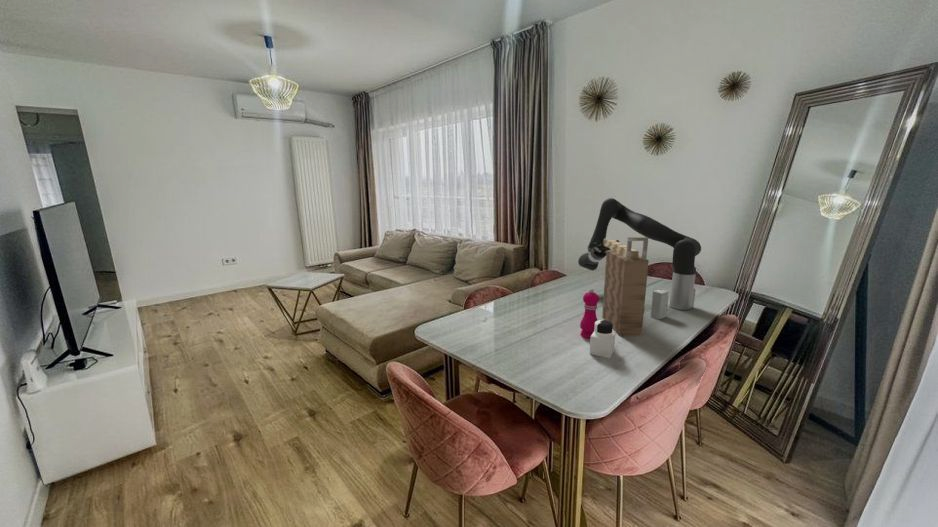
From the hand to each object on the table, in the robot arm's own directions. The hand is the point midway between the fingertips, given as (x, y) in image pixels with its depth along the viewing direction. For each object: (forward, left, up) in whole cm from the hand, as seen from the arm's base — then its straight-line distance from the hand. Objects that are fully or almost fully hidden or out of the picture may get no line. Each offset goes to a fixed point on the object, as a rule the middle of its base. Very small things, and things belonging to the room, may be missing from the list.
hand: (608, 242), depth 166 cm
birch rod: (+2, +13, -2) cm, 13 cm away
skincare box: (-18, +14, -33) cm, 40 cm away
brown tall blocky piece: (+4, +20, -33) cm, 39 cm away
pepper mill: (+22, +27, -33) cm, 48 cm away
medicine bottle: (+24, +41, -33) cm, 58 cm away
